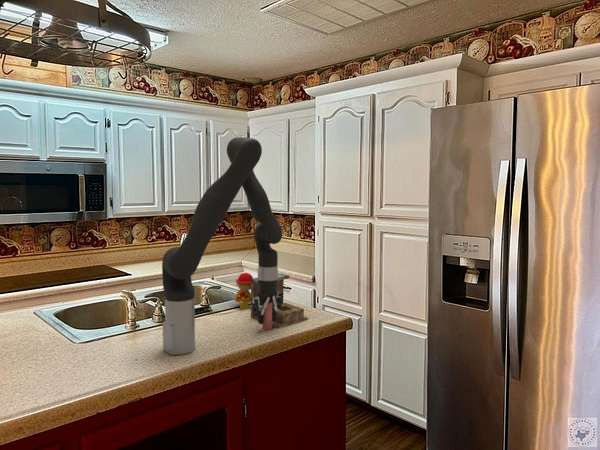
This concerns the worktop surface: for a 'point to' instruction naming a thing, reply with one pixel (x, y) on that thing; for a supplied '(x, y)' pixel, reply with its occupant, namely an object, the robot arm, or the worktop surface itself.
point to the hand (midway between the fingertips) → (267, 322)
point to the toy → (244, 290)
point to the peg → (268, 317)
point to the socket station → (287, 312)
